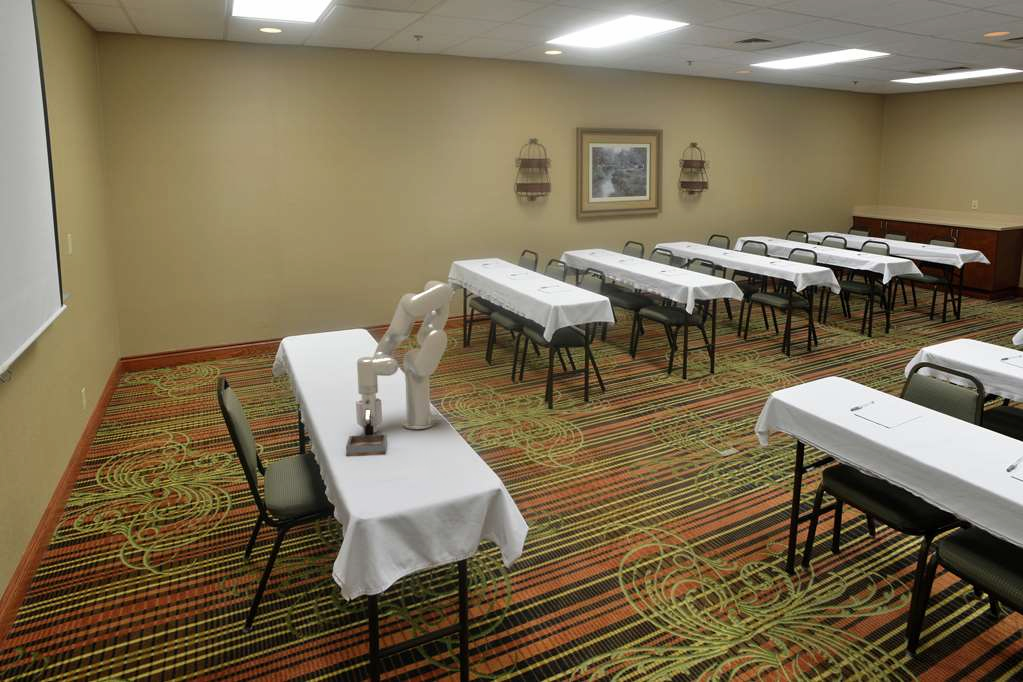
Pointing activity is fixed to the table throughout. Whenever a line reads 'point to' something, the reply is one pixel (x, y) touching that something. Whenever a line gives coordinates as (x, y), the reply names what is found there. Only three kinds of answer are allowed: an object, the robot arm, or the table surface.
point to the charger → (374, 421)
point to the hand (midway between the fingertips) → (370, 432)
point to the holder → (366, 445)
